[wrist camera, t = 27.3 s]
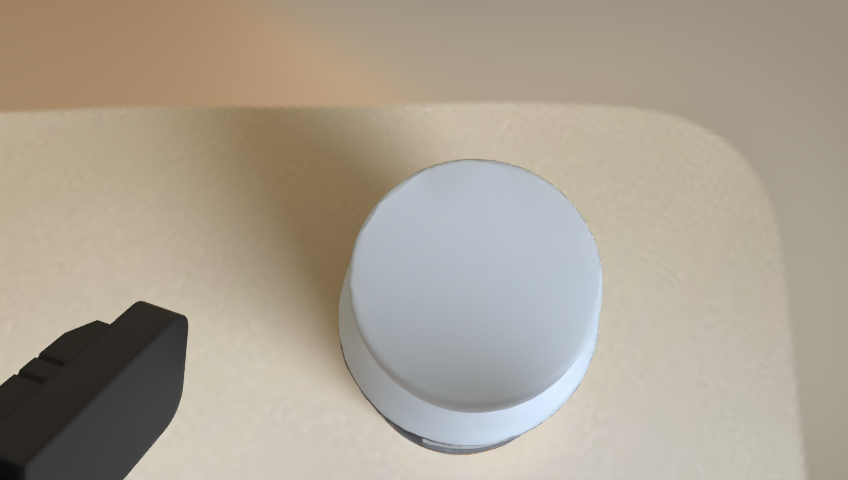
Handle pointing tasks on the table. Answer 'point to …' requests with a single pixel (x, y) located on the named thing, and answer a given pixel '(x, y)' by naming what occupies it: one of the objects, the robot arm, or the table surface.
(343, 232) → the table surface
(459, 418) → the pill bottle
